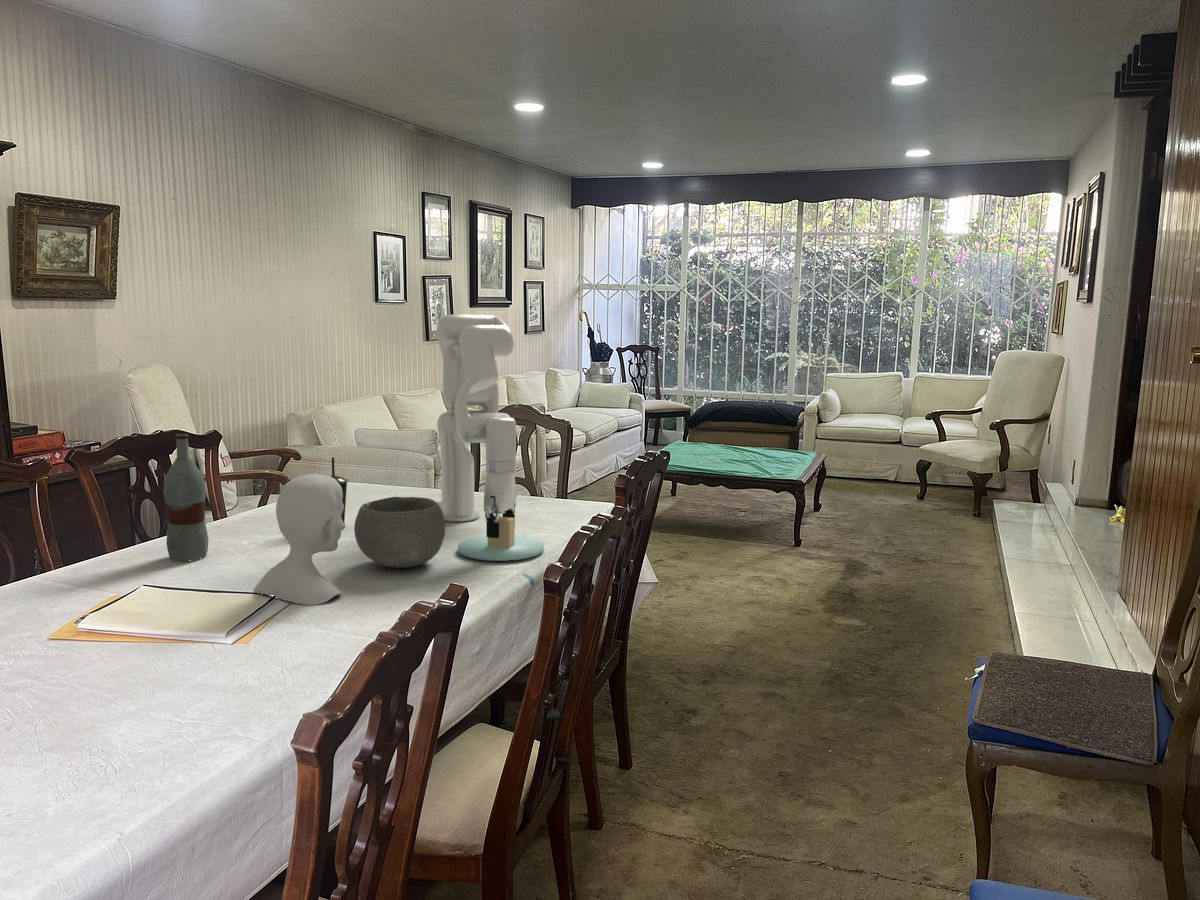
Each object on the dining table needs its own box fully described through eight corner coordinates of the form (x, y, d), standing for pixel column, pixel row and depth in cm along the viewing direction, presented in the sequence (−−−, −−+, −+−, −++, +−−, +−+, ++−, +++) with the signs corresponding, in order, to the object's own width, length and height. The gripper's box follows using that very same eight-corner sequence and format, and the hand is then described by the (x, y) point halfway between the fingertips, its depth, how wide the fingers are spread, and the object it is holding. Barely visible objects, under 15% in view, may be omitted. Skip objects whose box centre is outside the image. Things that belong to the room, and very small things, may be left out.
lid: (442, 555, 218) (442, 523, 216) (480, 535, 238) (480, 506, 237) (524, 564, 211) (524, 531, 210) (555, 542, 232) (556, 512, 230)
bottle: (158, 559, 213) (151, 435, 208) (191, 550, 221) (185, 430, 216) (184, 564, 208) (177, 438, 204) (217, 555, 216) (211, 433, 212)
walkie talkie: (353, 526, 248) (351, 455, 245) (343, 532, 240) (341, 460, 237) (327, 525, 249) (325, 454, 246) (315, 531, 241) (313, 459, 238)
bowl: (425, 581, 198) (424, 516, 196) (339, 574, 202) (337, 510, 200) (458, 556, 219) (458, 497, 217) (379, 551, 223) (378, 492, 221)
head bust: (380, 585, 195) (378, 473, 191) (312, 609, 179) (308, 487, 175) (312, 569, 206) (308, 463, 202) (241, 590, 190) (236, 476, 186)
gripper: (501, 460, 230) (501, 524, 233) (472, 470, 214) (472, 539, 217) (528, 462, 228) (527, 526, 231) (500, 473, 212) (500, 542, 214)
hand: (500, 533), depth 224 cm, fingers open, 9 cm apart
